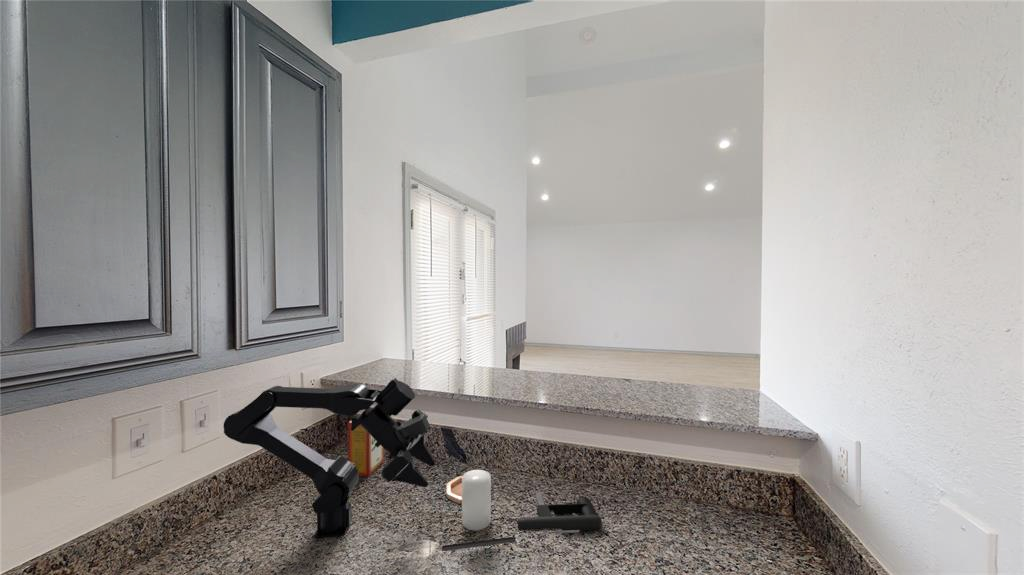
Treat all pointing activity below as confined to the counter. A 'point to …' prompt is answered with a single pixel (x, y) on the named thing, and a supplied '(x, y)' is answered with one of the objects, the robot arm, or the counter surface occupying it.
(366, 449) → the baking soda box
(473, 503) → the white smooth rounded cylinder
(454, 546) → the dark grey flat plate
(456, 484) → the dish
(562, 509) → the door handle
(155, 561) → the counter surface
